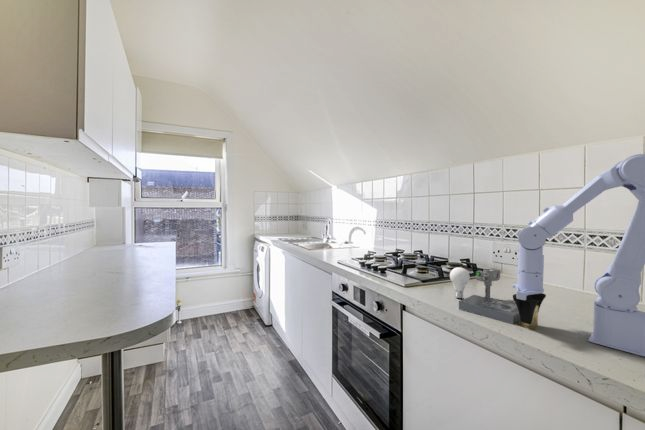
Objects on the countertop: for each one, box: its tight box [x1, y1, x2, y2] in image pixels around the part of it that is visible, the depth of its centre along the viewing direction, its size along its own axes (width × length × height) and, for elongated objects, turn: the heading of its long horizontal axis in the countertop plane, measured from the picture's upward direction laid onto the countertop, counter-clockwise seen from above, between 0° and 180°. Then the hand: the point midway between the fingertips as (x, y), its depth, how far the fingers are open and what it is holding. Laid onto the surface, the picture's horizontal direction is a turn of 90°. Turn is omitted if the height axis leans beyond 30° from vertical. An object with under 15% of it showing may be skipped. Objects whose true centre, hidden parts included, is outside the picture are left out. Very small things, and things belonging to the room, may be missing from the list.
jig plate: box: [458, 294, 520, 325], centre depth 89 cm, size 15×11×2 cm
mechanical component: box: [475, 268, 501, 299], centre depth 103 cm, size 3×10×10 cm, turn 111°
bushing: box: [519, 305, 539, 330], centre depth 78 cm, size 4×4×6 cm
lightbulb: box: [449, 266, 471, 300], centre depth 102 cm, size 6×6×11 cm
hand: (528, 320), depth 78 cm, fingers closed on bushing, 4 cm apart
